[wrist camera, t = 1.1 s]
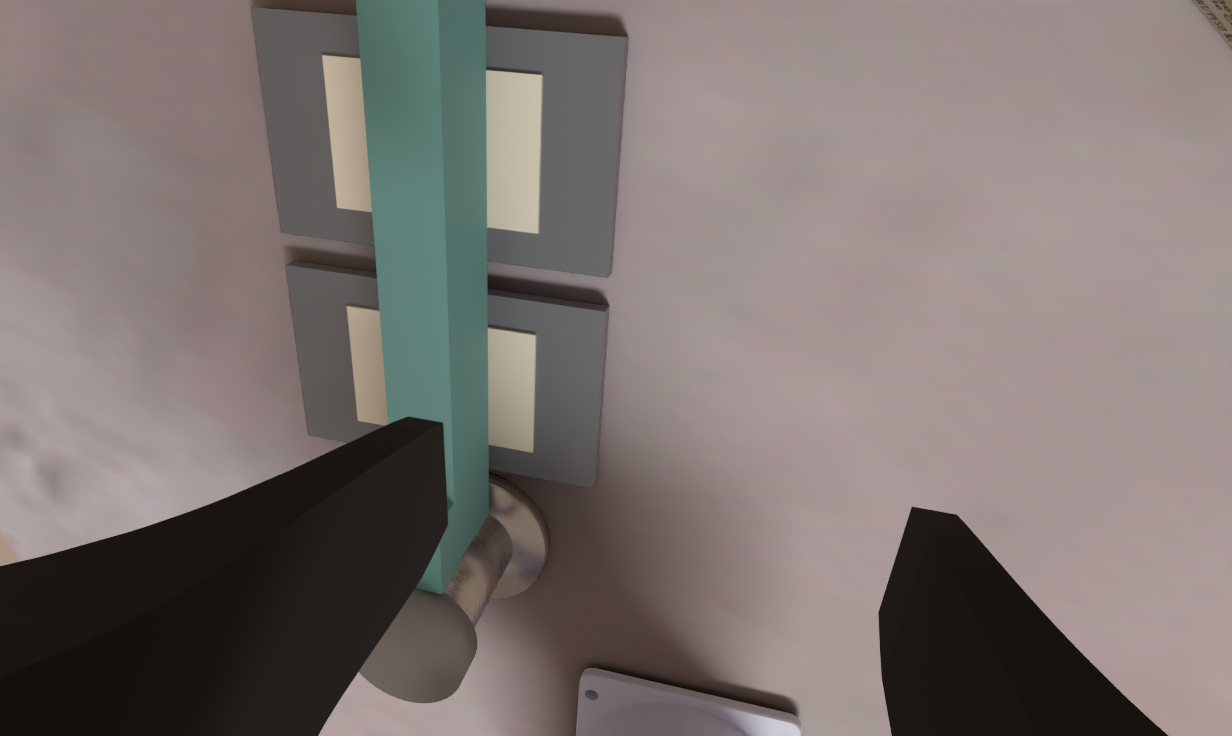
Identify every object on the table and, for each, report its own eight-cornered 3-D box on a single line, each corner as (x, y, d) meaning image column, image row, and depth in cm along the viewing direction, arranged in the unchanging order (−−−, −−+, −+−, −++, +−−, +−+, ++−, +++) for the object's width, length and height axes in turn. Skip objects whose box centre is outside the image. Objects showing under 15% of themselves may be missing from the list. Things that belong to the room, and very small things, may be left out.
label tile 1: (611, 272, 20) (606, 279, 19) (291, 228, 22) (279, 233, 21) (628, 37, 17) (623, 36, 17) (263, 8, 19) (248, 6, 18)
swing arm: (514, 610, 24) (464, 715, 20) (416, 589, 25) (349, 686, 21) (522, -20, 16) (442, -40, 12) (376, -30, 17) (256, -52, 13)
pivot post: (547, 600, 26) (503, 700, 22) (418, 571, 26) (353, 664, 22) (551, 484, 23) (504, 573, 19) (411, 458, 24) (338, 538, 20)
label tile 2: (596, 480, 23) (592, 491, 22) (317, 427, 25) (306, 436, 24) (609, 305, 20) (604, 313, 20) (295, 260, 22) (283, 266, 21)
